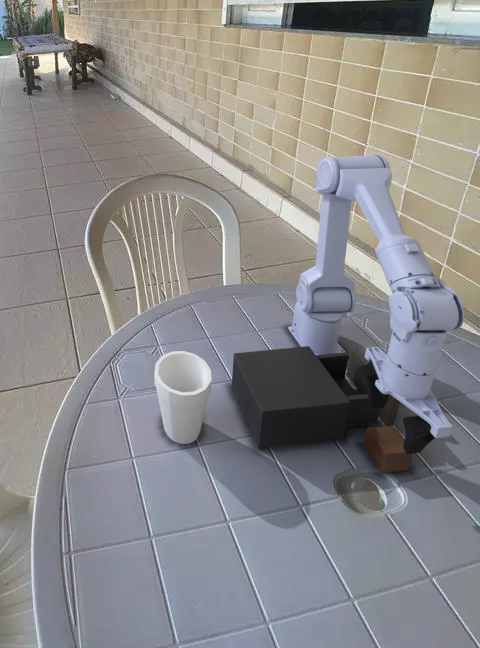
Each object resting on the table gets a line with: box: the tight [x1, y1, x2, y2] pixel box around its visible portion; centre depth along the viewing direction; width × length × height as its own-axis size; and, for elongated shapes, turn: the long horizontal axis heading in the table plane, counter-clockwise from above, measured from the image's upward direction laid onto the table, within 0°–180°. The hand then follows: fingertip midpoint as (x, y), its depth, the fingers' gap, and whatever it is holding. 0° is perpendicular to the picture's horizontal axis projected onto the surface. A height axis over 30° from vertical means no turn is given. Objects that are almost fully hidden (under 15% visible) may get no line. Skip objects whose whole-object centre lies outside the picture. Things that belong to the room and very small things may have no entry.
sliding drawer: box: [316, 347, 401, 428], centre depth 76 cm, size 18×11×7 cm, turn 94°
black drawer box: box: [230, 346, 350, 449], centre depth 76 cm, size 15×13×9 cm
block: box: [362, 424, 414, 474], centre depth 67 cm, size 4×4×4 cm
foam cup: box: [154, 350, 212, 445], centre depth 73 cm, size 10×9×13 cm
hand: (393, 427), depth 66 cm, fingers open, 7 cm apart
